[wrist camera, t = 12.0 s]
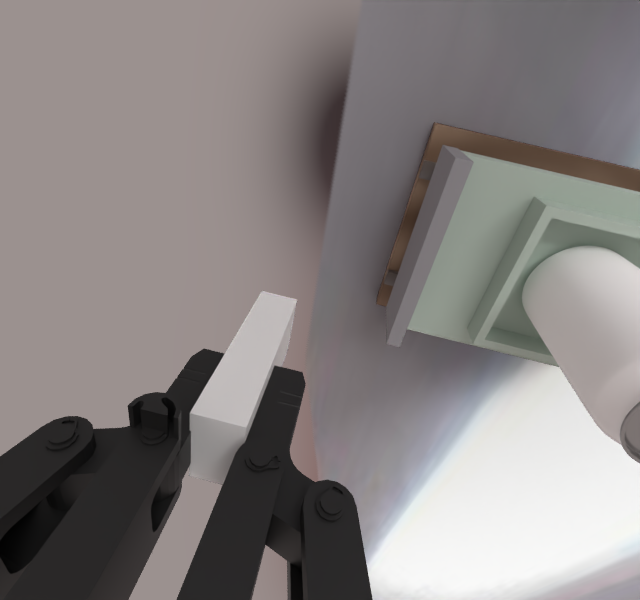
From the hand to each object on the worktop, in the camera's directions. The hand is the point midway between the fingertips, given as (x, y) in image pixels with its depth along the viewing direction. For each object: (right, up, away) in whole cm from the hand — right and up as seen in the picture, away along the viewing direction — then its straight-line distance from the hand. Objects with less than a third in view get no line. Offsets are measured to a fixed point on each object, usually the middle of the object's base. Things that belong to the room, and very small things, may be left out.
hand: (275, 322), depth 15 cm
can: (+19, +2, +10) cm, 21 cm away
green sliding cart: (+18, +4, +12) cm, 22 cm away
